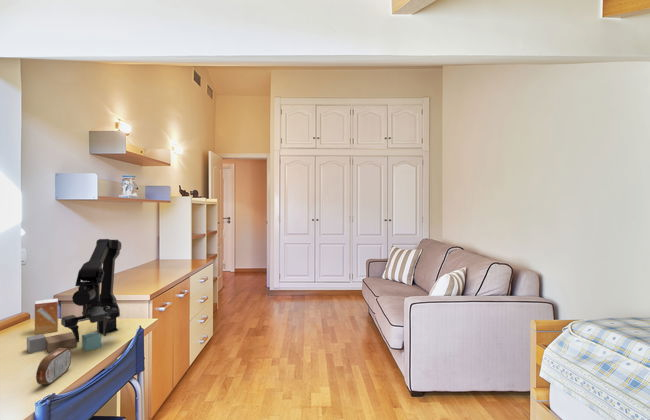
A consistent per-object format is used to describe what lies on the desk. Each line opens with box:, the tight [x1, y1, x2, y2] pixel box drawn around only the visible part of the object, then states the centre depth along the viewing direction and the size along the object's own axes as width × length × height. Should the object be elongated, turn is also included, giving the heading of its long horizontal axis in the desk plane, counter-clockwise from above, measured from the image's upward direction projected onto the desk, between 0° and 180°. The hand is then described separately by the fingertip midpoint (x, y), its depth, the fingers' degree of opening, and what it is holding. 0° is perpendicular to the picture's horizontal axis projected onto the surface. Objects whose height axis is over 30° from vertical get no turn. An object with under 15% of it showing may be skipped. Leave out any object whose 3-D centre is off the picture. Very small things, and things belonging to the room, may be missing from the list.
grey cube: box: [26, 333, 47, 355], centre depth 148 cm, size 5×5×5 cm
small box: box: [34, 297, 59, 335], centre depth 169 cm, size 8×6×13 cm
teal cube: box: [81, 331, 102, 352], centre depth 151 cm, size 5×5×5 cm
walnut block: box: [45, 331, 78, 355], centre depth 151 cm, size 9×9×4 cm
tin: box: [35, 348, 72, 386], centre depth 126 cm, size 15×3×8 cm, turn 5°
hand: (91, 339), depth 151 cm, fingers open, 9 cm apart
